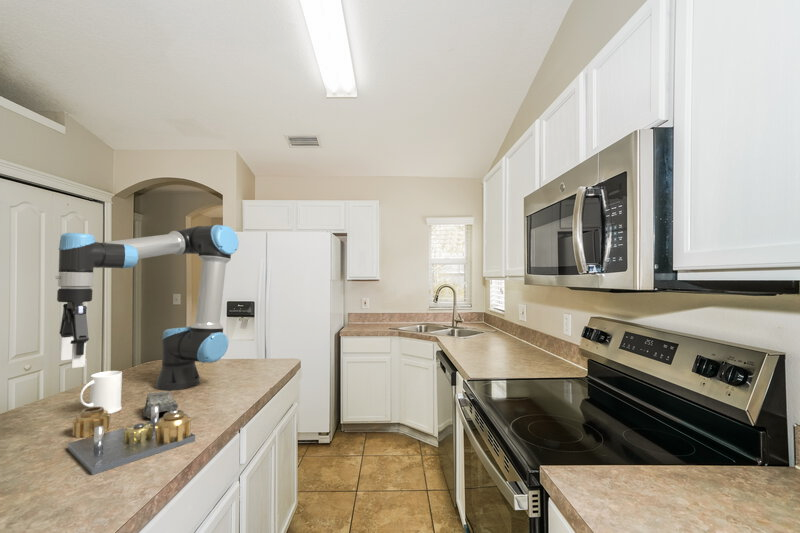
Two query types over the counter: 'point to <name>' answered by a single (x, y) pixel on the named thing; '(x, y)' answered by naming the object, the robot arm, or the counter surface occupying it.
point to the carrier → (133, 441)
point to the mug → (105, 391)
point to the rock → (159, 403)
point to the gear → (90, 421)
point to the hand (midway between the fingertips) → (72, 363)
